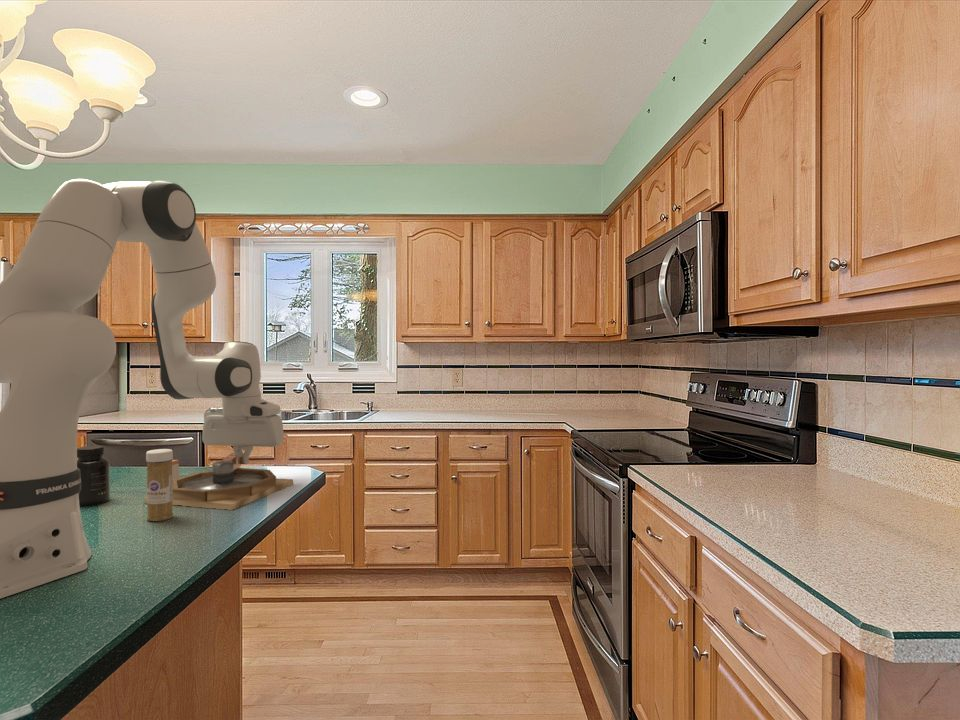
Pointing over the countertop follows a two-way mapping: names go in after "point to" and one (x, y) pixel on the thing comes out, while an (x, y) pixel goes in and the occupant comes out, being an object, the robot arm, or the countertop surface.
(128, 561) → the countertop surface
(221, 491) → the dial housing
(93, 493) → the supplement bottle
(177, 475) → the post
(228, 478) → the dial
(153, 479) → the sprinkles bottle
